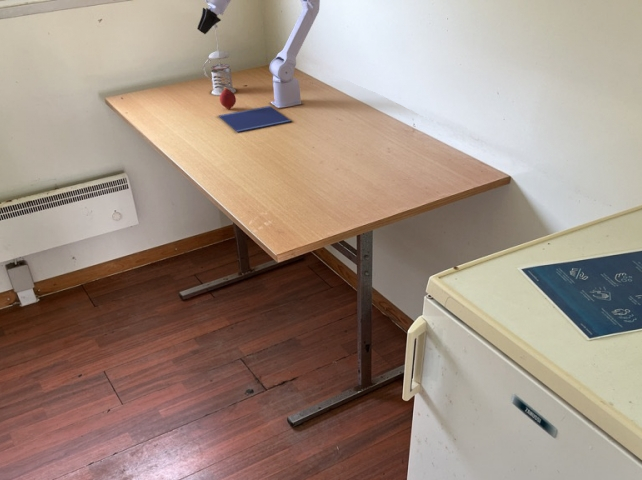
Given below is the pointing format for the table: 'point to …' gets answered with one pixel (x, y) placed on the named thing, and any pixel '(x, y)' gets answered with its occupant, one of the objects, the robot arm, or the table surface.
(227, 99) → the onion
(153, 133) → the table surface
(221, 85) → the french press
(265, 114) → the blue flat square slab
